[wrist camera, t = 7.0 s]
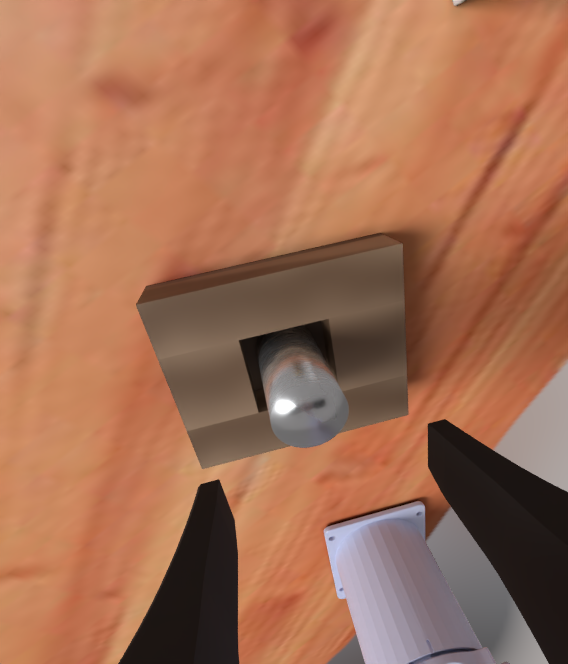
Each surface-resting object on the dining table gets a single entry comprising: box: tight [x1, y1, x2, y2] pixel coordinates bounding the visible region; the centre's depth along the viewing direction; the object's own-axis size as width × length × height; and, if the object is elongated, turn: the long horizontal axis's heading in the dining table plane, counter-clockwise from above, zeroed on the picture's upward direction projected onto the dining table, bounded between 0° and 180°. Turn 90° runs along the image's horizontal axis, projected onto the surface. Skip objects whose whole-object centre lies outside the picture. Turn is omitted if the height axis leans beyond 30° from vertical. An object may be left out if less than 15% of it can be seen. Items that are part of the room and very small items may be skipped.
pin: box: [256, 325, 349, 448], centre depth 17 cm, size 3×3×6 cm
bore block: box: [136, 233, 408, 469], centre depth 19 cm, size 10×12×2 cm
